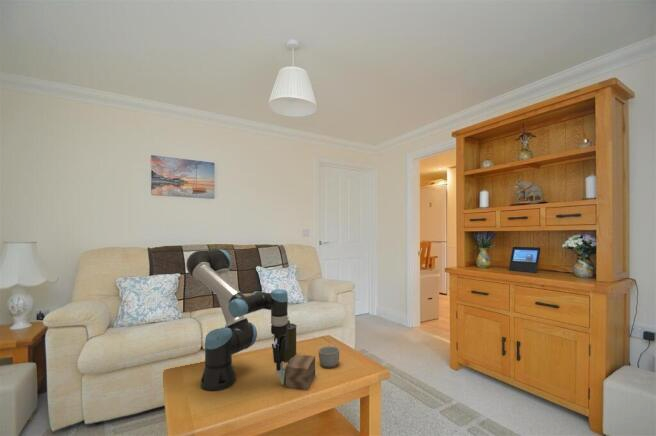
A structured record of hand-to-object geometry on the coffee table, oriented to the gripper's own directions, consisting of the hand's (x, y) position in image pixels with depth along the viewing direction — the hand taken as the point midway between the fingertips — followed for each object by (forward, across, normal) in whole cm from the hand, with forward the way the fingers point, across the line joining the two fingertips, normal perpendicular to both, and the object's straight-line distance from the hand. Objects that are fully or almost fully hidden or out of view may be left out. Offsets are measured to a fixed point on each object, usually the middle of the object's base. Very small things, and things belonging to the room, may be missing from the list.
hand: (279, 376), depth 145 cm
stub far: (-1, +7, -3) cm, 8 cm away
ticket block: (+3, +4, -9) cm, 10 cm away
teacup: (+4, +26, -18) cm, 31 cm away
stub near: (-1, 0, -3) cm, 3 cm away
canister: (+4, +28, +6) cm, 28 cm away
